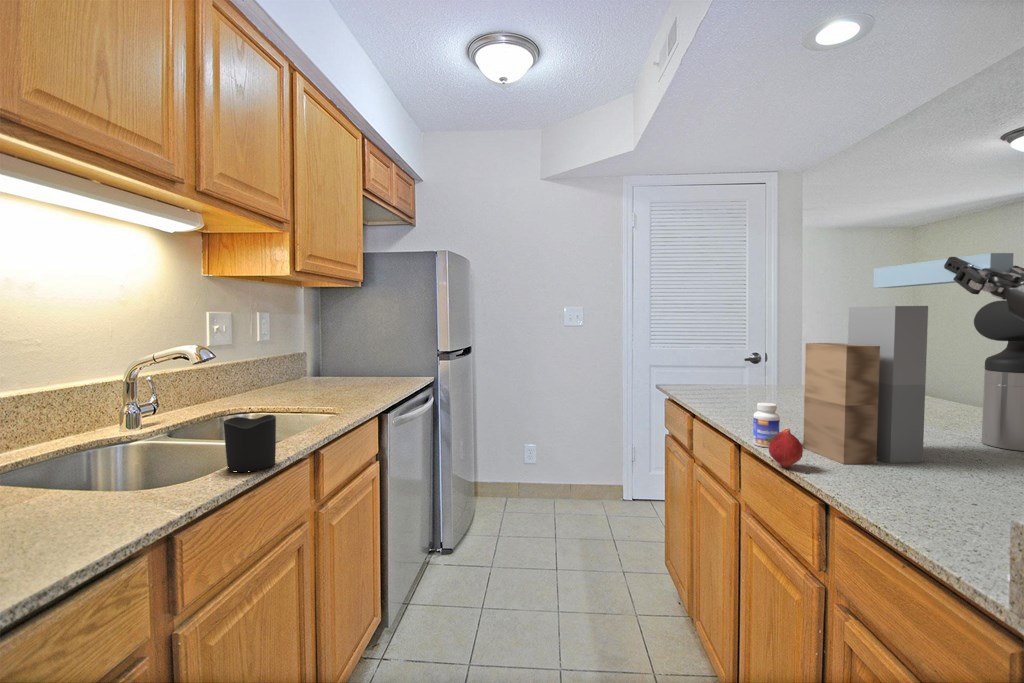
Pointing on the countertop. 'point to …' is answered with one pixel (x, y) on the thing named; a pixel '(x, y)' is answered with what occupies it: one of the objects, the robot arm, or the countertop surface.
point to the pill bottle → (765, 424)
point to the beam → (936, 271)
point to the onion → (785, 448)
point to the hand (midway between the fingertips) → (960, 262)
